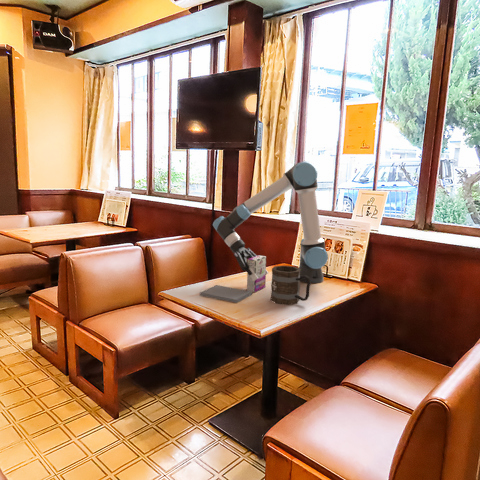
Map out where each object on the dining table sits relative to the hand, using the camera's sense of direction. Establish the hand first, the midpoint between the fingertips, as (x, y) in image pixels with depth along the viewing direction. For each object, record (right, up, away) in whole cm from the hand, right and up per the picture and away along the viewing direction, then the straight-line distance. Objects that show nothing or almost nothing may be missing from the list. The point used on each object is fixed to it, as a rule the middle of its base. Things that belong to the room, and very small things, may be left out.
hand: (261, 276), depth 202 cm
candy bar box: (-3, -7, +3) cm, 8 cm away
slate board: (-17, -8, -8) cm, 21 cm away
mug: (+12, -10, -15) cm, 22 cm away
